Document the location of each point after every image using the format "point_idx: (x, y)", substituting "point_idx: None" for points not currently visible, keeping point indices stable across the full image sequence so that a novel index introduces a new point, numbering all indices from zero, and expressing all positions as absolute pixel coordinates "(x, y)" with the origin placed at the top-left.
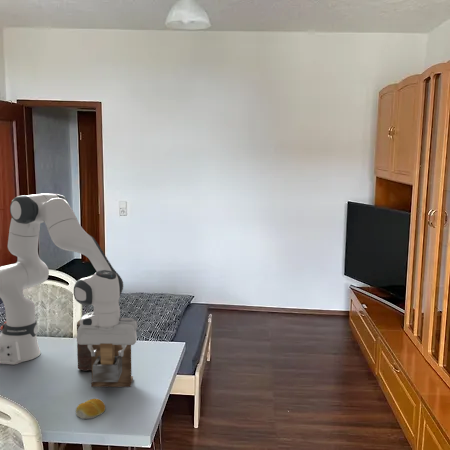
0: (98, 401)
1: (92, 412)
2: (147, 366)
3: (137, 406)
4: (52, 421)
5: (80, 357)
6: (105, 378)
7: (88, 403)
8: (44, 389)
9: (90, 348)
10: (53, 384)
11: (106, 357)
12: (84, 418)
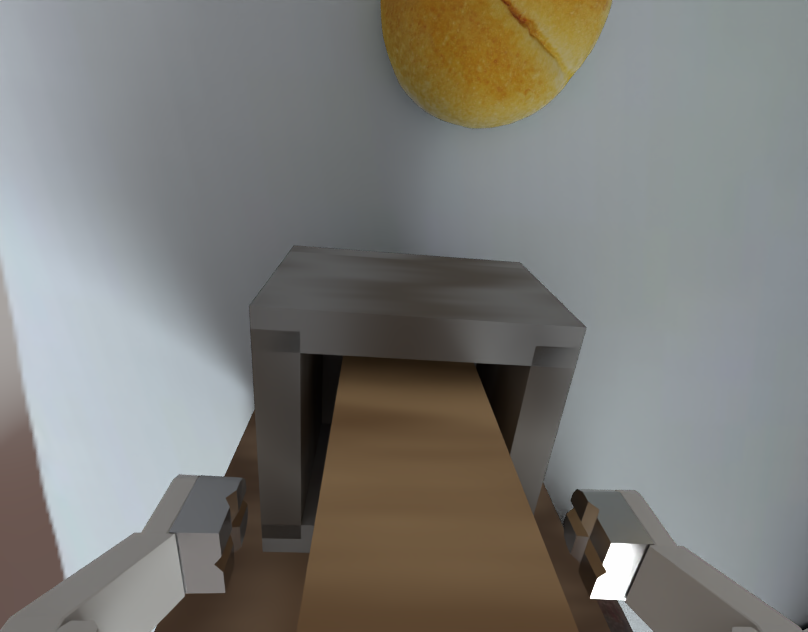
0: (441, 9)
1: None
2: None
3: (142, 78)
4: None
5: (614, 612)
6: (409, 265)
7: None
8: (774, 362)
9: (730, 605)
10: (720, 413)
11: (417, 444)
12: None
